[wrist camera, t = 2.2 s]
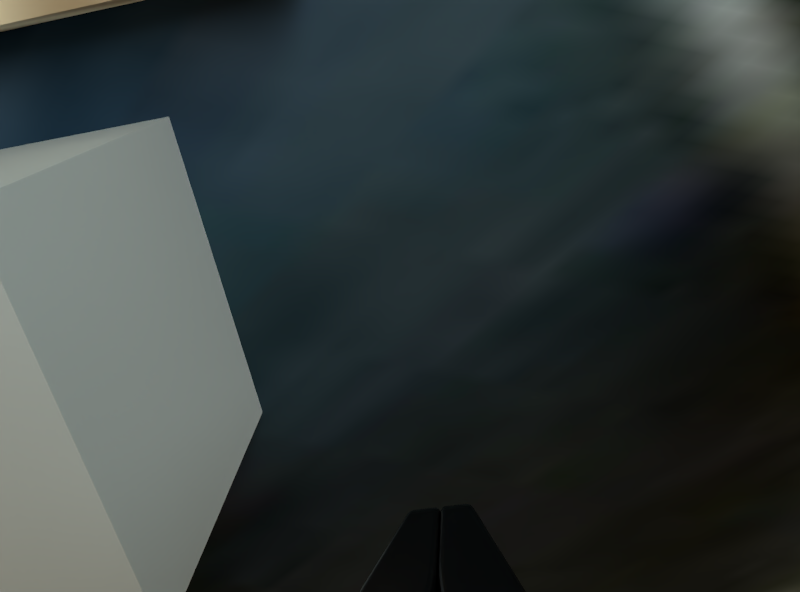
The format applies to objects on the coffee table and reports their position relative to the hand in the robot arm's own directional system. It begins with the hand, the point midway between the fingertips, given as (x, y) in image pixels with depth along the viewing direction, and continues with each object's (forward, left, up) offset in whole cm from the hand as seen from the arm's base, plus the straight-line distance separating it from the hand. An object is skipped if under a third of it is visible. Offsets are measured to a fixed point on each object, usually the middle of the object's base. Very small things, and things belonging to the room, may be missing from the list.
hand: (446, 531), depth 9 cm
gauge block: (+11, 0, -12) cm, 16 cm away
